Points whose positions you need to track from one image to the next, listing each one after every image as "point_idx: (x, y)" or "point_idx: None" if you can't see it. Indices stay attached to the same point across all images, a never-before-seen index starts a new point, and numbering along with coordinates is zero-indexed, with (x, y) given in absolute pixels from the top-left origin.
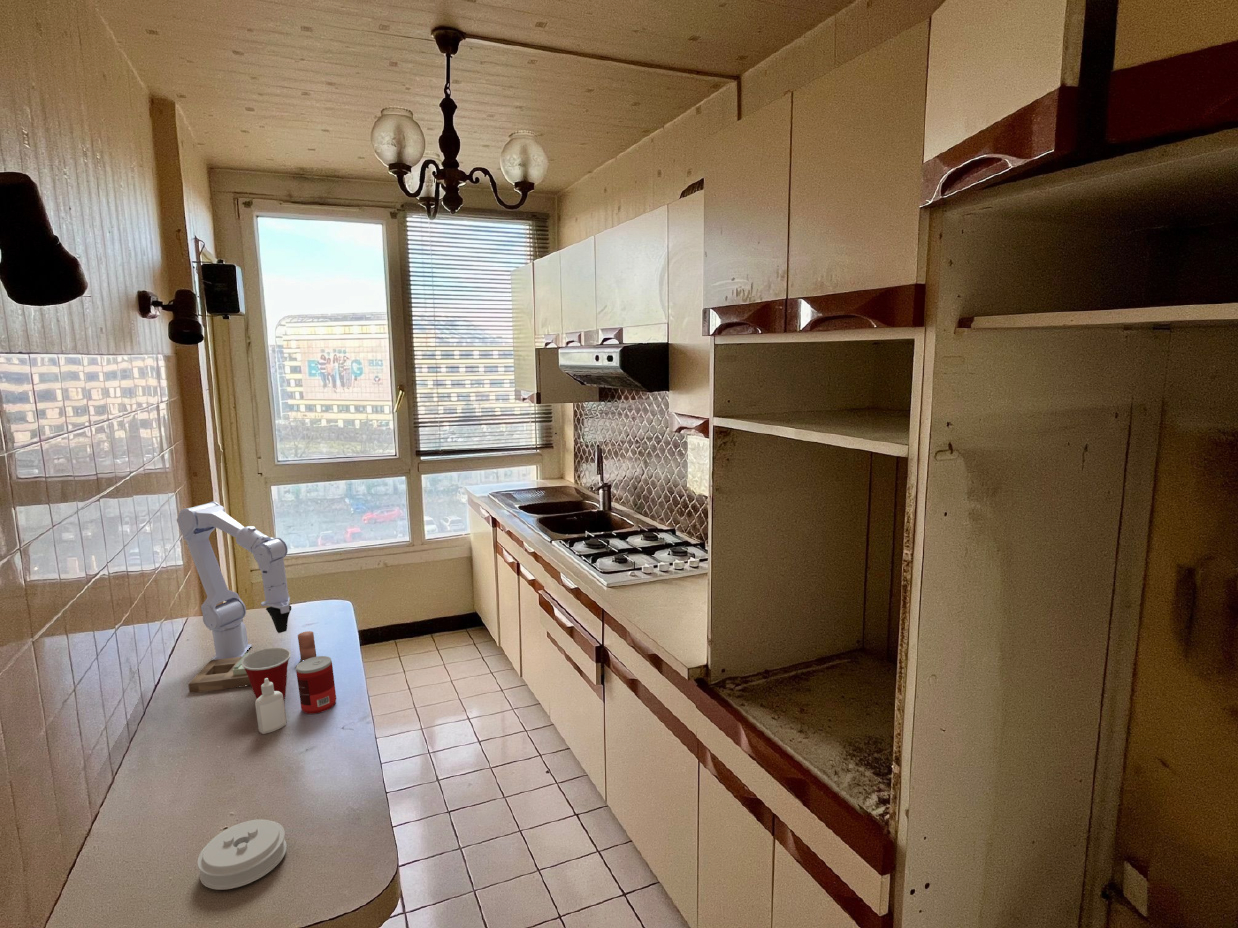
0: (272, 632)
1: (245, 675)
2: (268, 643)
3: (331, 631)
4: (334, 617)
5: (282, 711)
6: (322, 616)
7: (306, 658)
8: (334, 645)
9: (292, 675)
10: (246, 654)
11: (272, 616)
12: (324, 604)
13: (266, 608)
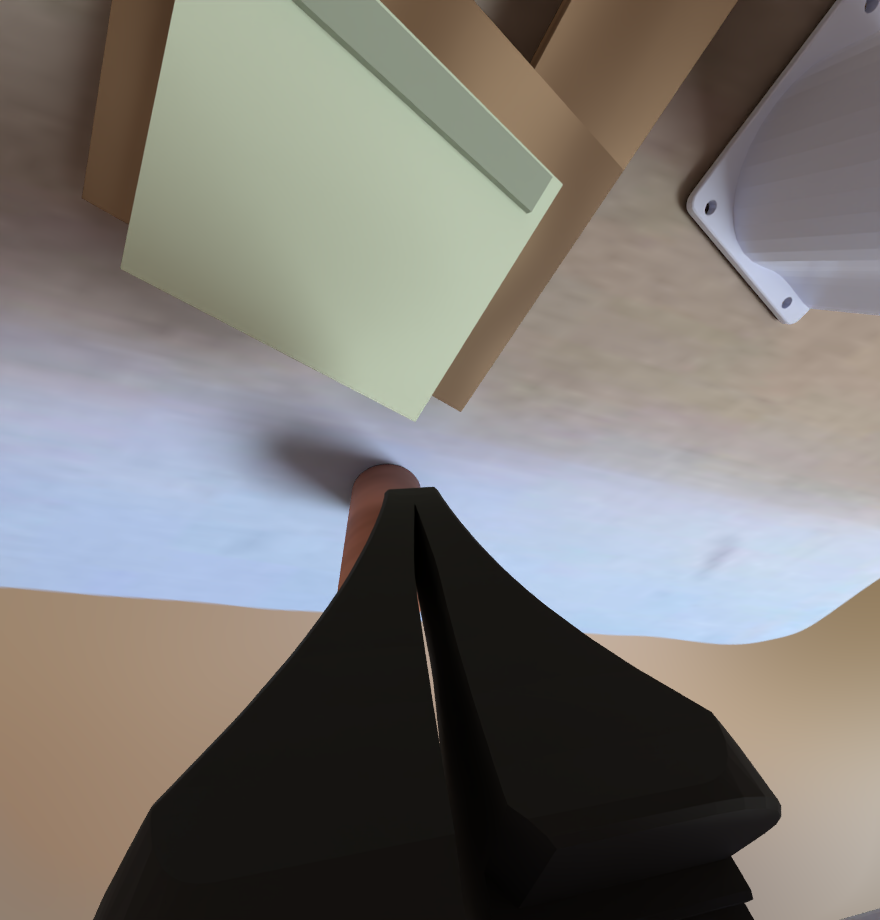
0: (810, 440)
1: (165, 34)
2: (721, 397)
3: (577, 595)
4: (681, 617)
5: None
6: (731, 595)
7: (354, 487)
8: None
9: (195, 386)
10: (512, 164)
11: (241, 714)
12: (810, 612)
13: (739, 808)
